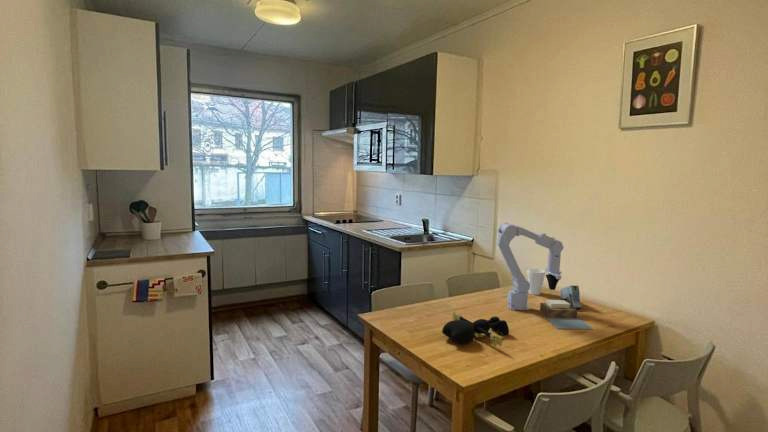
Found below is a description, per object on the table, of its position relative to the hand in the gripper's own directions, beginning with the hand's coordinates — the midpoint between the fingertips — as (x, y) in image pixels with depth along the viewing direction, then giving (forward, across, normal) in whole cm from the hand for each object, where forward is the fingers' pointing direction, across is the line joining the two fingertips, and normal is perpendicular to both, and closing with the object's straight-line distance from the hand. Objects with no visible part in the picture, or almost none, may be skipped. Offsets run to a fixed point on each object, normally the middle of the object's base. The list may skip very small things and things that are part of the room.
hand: (551, 289), depth 218 cm
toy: (+10, -38, +47) cm, 61 cm away
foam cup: (+10, +25, -1) cm, 27 cm away
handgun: (+10, +7, -13) cm, 18 cm away
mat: (+10, -21, 0) cm, 23 cm away
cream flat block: (+6, -8, 0) cm, 10 cm away
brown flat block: (+10, -9, 0) cm, 13 cm away
